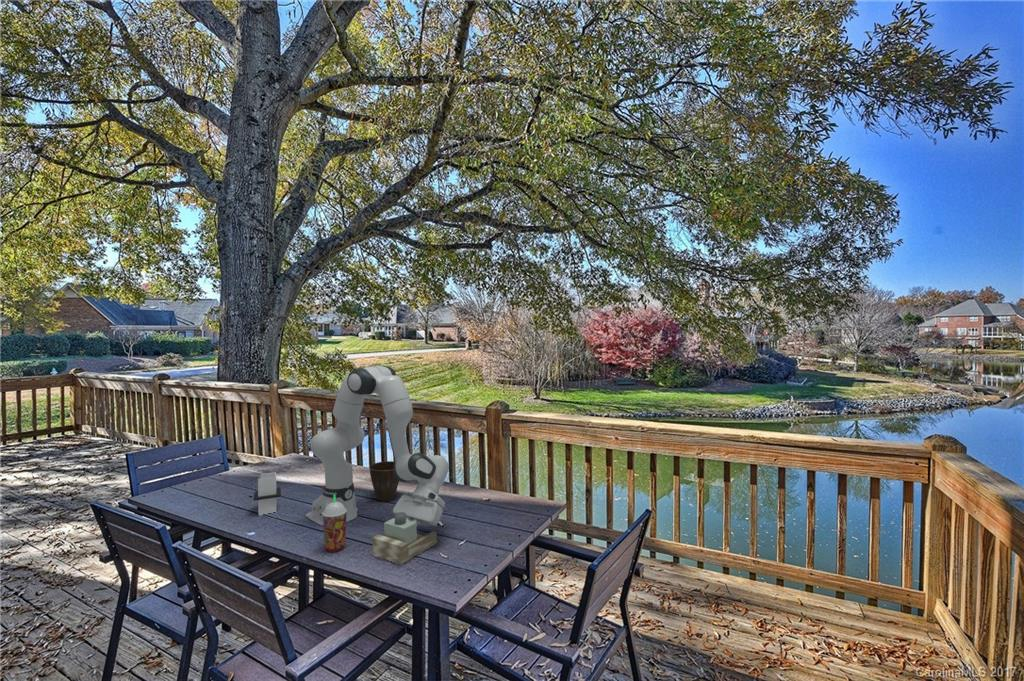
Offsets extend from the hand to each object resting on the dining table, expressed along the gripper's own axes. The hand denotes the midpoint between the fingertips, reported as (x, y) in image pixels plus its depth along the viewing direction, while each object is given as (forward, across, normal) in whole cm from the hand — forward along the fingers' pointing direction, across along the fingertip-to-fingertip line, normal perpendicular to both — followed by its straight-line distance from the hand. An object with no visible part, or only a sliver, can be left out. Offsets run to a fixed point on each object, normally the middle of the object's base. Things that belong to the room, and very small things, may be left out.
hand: (407, 531), depth 172 cm
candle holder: (+8, -79, +2) cm, 79 cm away
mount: (+5, 0, +4) cm, 6 cm away
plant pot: (-18, -44, +28) cm, 55 cm away
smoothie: (+14, -23, -5) cm, 27 cm away
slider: (+6, 0, +1) cm, 6 cm away
